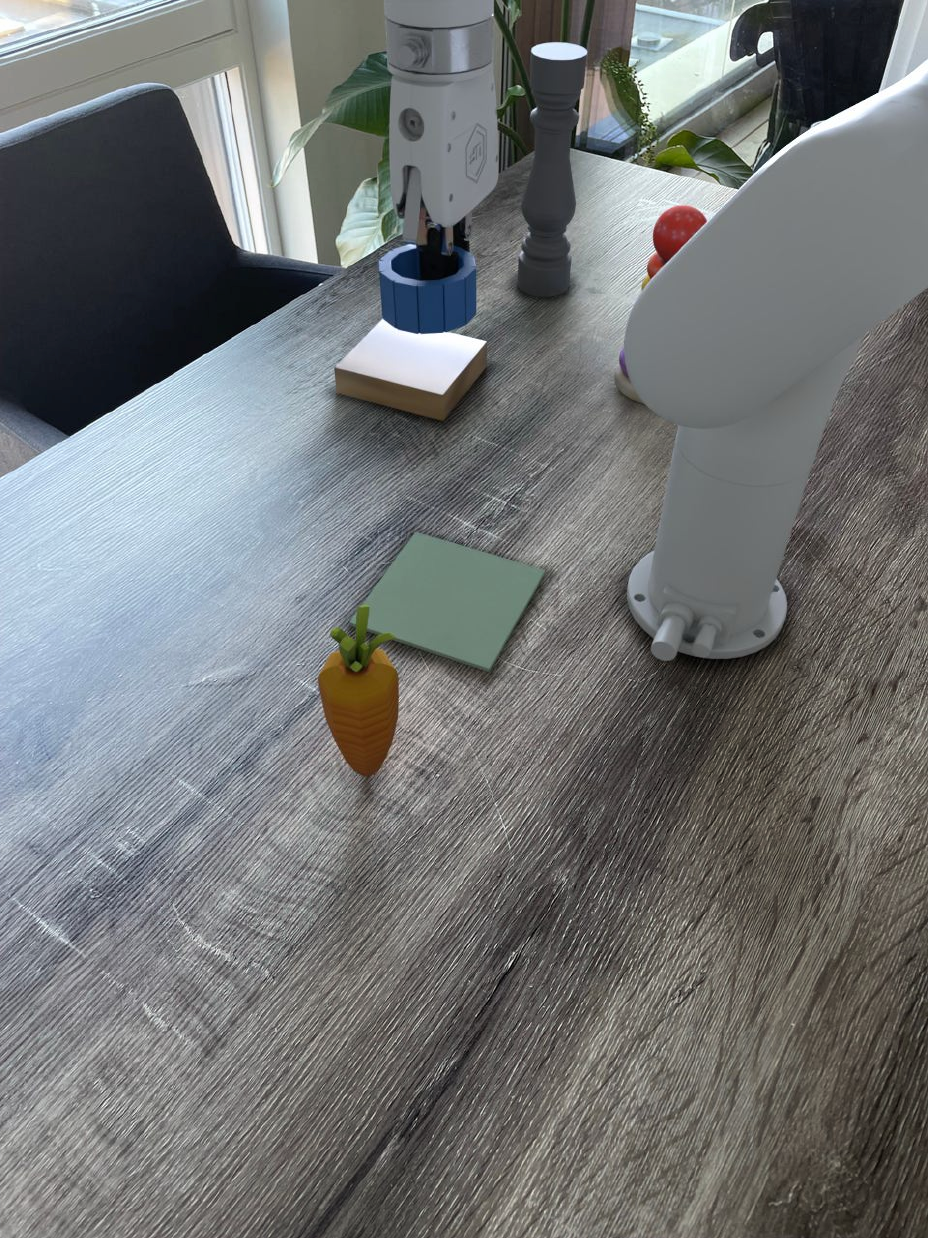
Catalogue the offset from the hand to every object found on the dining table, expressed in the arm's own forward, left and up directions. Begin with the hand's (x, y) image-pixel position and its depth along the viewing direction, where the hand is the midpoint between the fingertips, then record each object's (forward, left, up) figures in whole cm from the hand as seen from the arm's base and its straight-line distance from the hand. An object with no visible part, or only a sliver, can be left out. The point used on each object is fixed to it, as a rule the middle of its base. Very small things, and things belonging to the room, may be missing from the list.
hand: (445, 289), depth 83 cm
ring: (-3, 0, 0) cm, 3 cm away
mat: (-18, -8, -17) cm, 26 cm away
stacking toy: (+19, -14, -17) cm, 29 cm away
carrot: (-36, -10, -17) cm, 41 cm away
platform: (+10, +9, -17) cm, 21 cm away
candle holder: (+35, +4, -17) cm, 39 cm away
